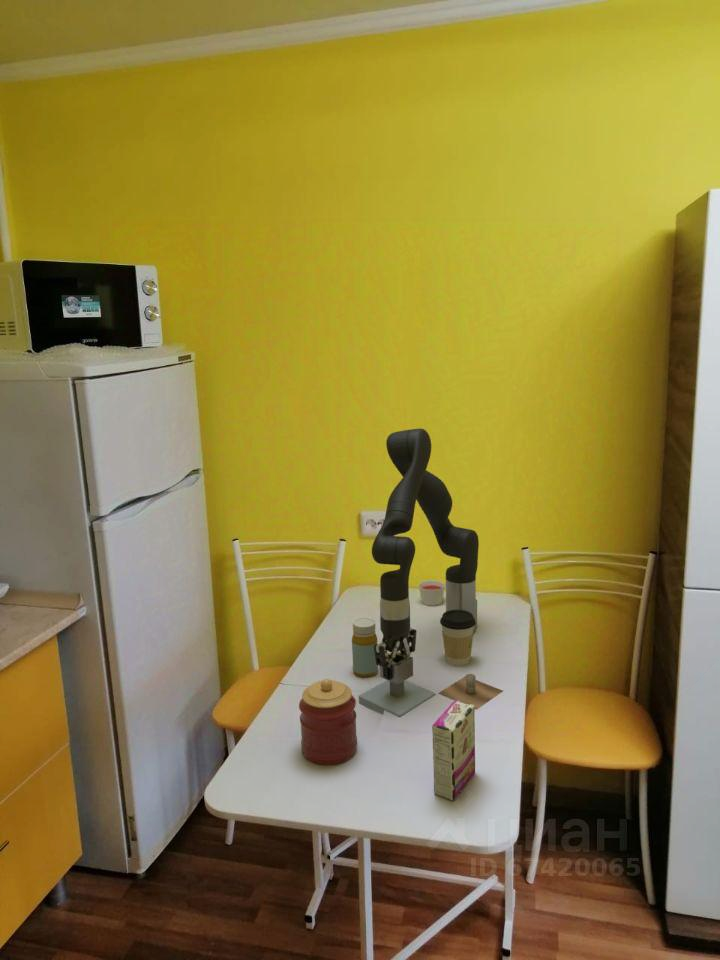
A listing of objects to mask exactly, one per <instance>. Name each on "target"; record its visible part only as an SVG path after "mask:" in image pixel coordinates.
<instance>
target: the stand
mask: <svg viewBox="0 0 720 960" xmlns="http://www.w3.org/2000/svg"><path fill="white" fill-rule="evenodd" d="M503 692H504V690H502V689H500V688H497V687H494V686H492V685H490V684H487V683H485V682H483V681H480V680H477V679H476V675H475V674H473V673H468V674H466V675H464V676H463V677H462V678H460V679H458V680H457V681H455V682H454V683H452V684H451V685H449V686H447V687H445V688H444V689H443V690H440V691H439V692H438V693H437V694H438V695H441V696H443V697H445V698H448V699H450V700H452V701H454V700H457V701H460V702H464V703H468V704H472V705H474V710H475V711H477V710H479V709H480V708H481V707H482V706H484V705H485V704H487V703H489V702H490V701H491V700H493V699H494V698H496V697H497V696H498V695H501V693H503Z"/></svg>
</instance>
